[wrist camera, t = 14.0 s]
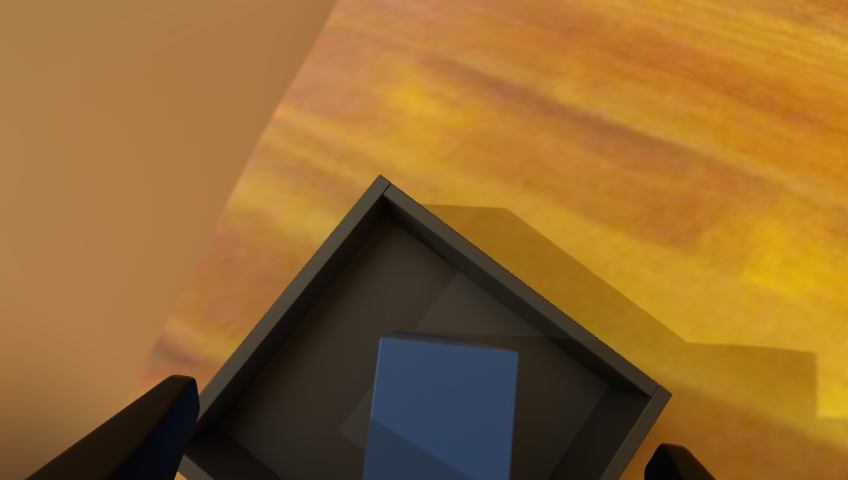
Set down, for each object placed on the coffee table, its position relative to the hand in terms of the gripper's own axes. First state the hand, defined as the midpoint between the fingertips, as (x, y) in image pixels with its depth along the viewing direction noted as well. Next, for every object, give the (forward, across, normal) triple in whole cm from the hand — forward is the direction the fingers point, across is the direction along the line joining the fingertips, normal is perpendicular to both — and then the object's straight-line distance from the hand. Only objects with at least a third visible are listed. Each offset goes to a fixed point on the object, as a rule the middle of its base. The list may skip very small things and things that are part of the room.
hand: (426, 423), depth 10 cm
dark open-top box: (+9, 0, +10) cm, 14 cm away
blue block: (+9, 0, +10) cm, 13 cm away
